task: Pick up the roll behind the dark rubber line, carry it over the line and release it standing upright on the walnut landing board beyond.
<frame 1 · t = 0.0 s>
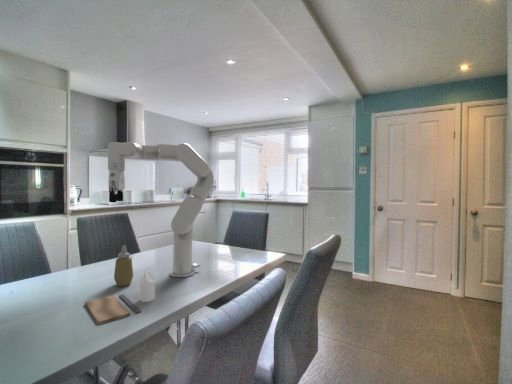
hand: (116, 201, 140), 37 cm above the table, tool pointing down, fingers open, 9 cm apart
landing board: (106, 309, 103), on the table
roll: (147, 299, 113), on the table
squeeze bottle: (123, 284, 129), on the table
throw line: (129, 303, 108), on the table
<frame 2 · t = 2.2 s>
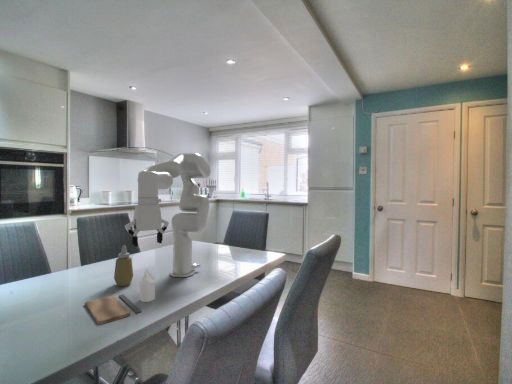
hand: (147, 244, 112), 22 cm above the table, tool pointing down, fingers open, 9 cm apart
nothing on the table moved.
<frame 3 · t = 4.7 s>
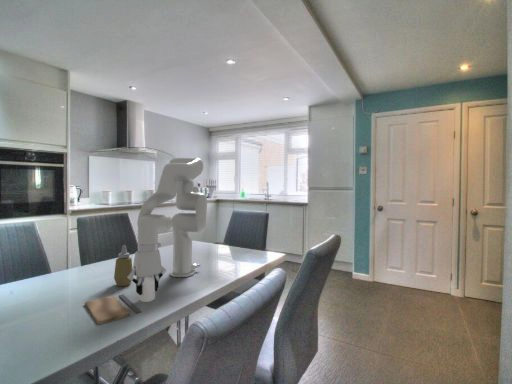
hand: (147, 291, 113), 3 cm above the table, tool pointing down, fingers closed on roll, 5 cm apart
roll: (147, 299, 113), on the table, touching gripper
everything else where it was.
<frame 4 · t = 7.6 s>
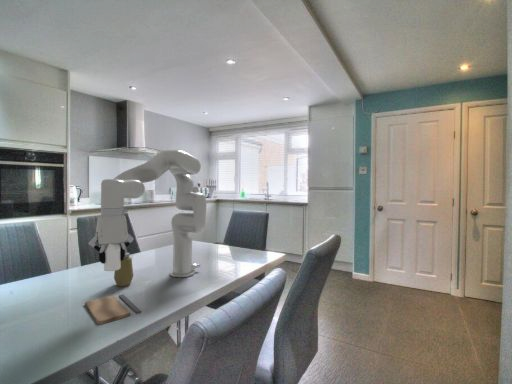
hand: (112, 260, 103), 18 cm above the table, tool pointing down, fingers closed on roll, 5 cm apart
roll: (112, 269, 103), point 15 cm above the table, touching gripper
everything else where it was.
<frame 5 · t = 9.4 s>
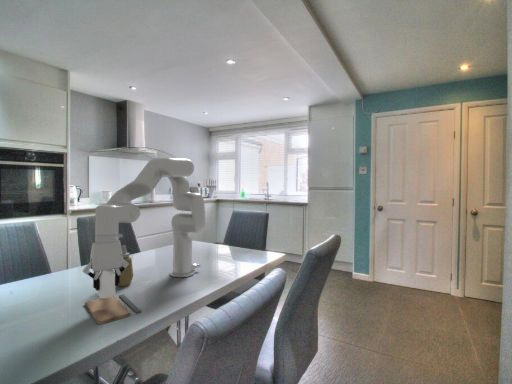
hand: (106, 287, 103), 9 cm above the table, tool pointing down, fingers closed on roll, 5 cm apart
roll: (106, 295, 103), point 5 cm above the table, touching gripper
everything else where it was.
when the fingers open (6 cm above the table, at t = 10.8 s): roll drops 2 cm, resting on landing board.
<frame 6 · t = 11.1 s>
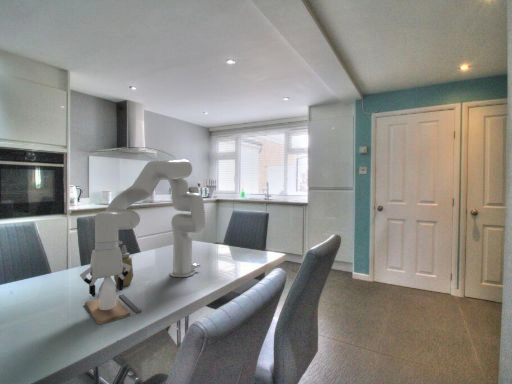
hand: (106, 292, 103), 7 cm above the table, tool pointing down, fingers open, 8 cm apart
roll: (107, 307, 103), point 1 cm above the table, touching landing board
everything else where it was.
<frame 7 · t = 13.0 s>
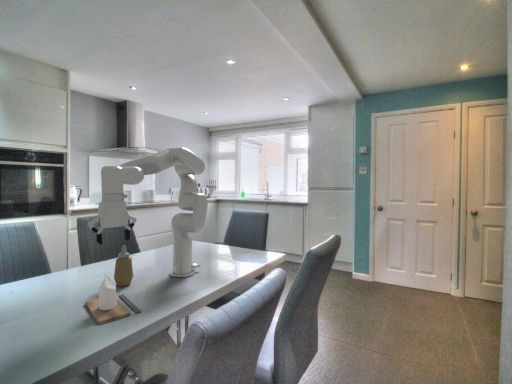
hand: (113, 241, 109), 24 cm above the table, tool pointing down, fingers open, 9 cm apart
nothing on the table moved.
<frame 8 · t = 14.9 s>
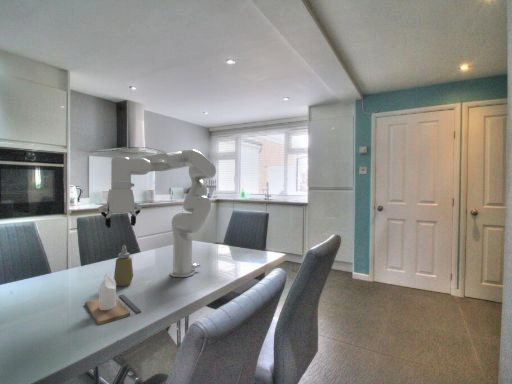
hand: (121, 226, 118), 28 cm above the table, tool pointing down, fingers open, 9 cm apart
nothing on the table moved.
at the end: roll inside the target area (0.2 cm from its centre), point 0.8 cm above the table; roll tilted 0°; the gripper is holding nothing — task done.
